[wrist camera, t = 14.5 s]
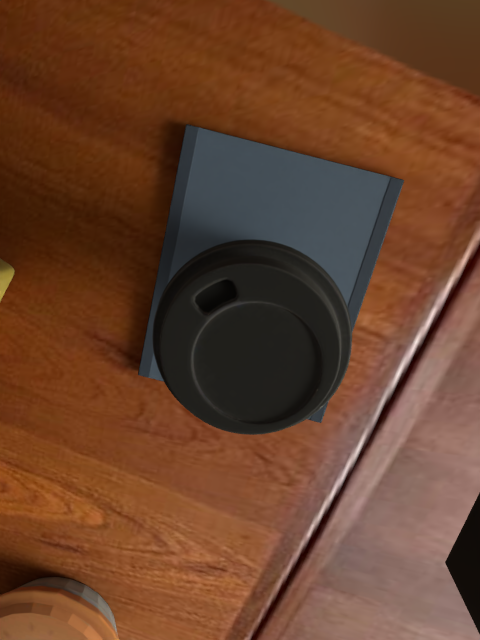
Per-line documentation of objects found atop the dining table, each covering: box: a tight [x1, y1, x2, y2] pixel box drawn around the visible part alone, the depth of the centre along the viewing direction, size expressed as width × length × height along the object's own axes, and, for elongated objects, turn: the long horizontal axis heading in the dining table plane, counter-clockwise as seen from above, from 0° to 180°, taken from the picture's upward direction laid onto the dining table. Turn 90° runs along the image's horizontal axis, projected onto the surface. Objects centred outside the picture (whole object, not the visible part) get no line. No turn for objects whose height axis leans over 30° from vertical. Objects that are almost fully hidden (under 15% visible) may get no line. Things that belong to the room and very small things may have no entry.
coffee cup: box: [152, 239, 352, 435], centre depth 25 cm, size 9×9×15 cm
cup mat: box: [138, 124, 404, 423], centre depth 33 cm, size 20×16×1 cm
